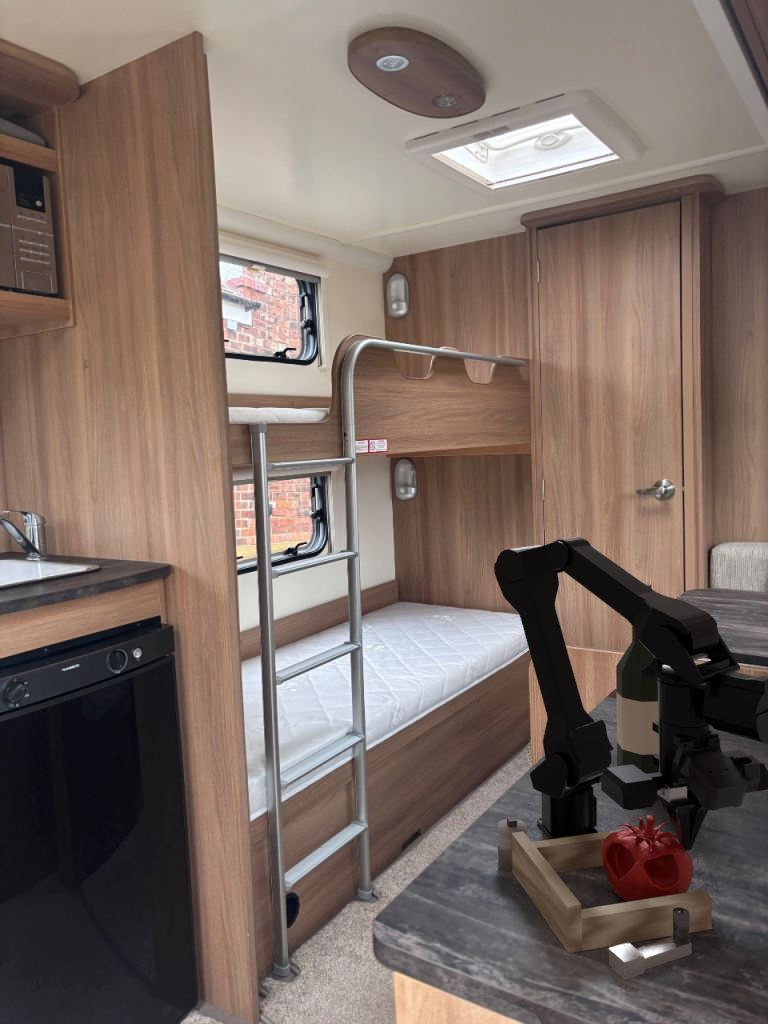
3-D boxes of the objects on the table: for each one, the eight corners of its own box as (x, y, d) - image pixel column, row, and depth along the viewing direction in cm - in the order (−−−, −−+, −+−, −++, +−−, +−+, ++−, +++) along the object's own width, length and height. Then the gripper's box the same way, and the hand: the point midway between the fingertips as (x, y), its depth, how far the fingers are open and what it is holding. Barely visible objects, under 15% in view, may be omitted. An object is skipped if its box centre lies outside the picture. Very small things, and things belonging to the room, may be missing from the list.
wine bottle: (683, 775, 122) (683, 586, 120) (640, 785, 119) (639, 591, 117) (647, 756, 130) (646, 578, 128) (606, 765, 127) (604, 583, 125)
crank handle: (624, 979, 76) (624, 938, 76) (608, 965, 78) (608, 925, 78) (696, 955, 79) (695, 916, 79) (679, 942, 82) (678, 903, 81)
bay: (558, 954, 80) (558, 900, 80) (494, 858, 99) (493, 814, 99) (711, 928, 84) (711, 877, 83) (621, 840, 103) (620, 798, 102)
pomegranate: (618, 863, 97) (617, 791, 97) (702, 886, 92) (702, 808, 91) (590, 901, 89) (589, 821, 89) (681, 928, 84) (680, 843, 83)
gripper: (649, 755, 80) (651, 900, 82) (805, 733, 84) (805, 872, 85) (597, 719, 91) (600, 848, 92) (738, 702, 95) (739, 825, 96)
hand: (686, 849), depth 91 cm, fingers closed
